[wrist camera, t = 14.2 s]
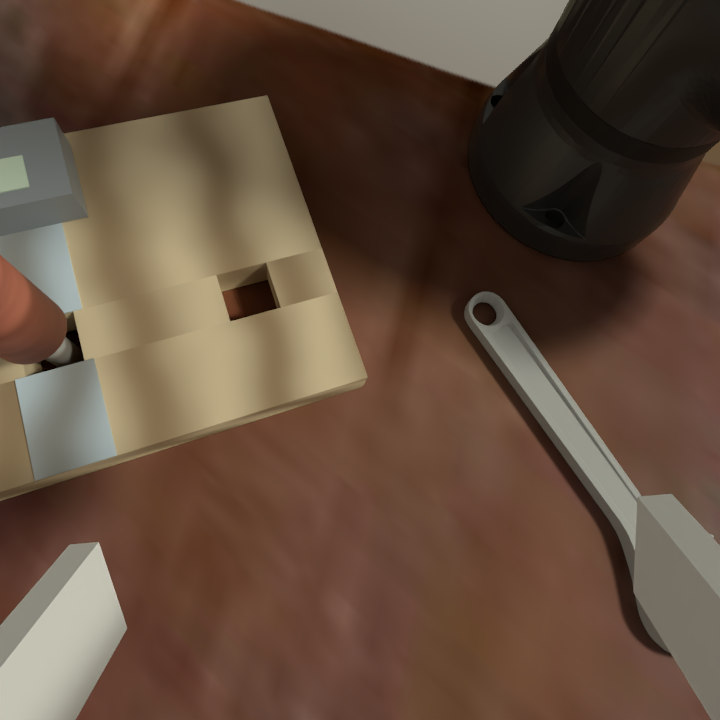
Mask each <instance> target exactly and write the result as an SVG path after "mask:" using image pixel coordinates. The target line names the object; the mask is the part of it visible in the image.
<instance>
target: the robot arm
mask: <svg viewBox="0 0 720 720" xmlns="http://www.w3.org/2000/svg"><path fill="white" fill-rule="evenodd" d="M719 141H720V0H569V2H568V4H567V5H566V7H565V9H564V11H563V13H562V15H561V17H560V19H559V21H558V22H557V24H556V26H555V28H554V30H553V32H552V33H551V35H550V37H549V38H548V39H547V40H546V41H545V42H544V43H543V44H542V45H541V46H540V47H538V49H536V50H535V51H534V52H533V53H532V54H531V55H530V56H529V57H528V58H527V59H526V60H525V61H524V62H522V64H520V65H519V66H518V67H517V68H516V69H515V70H514V71H513V72H512V73H511V74H509V75H508V76H507V77H506V78H505V79H504V80H503V81H502V82H501V83H500V84H499V85H498V86H497V87H496V88H495V89H494V91H493V92H492V93H491V95H490V96H489V97H488V99H487V101H486V102H485V104H484V106H483V108H482V110H481V112H480V114H479V116H478V119H477V121H476V123H475V125H474V127H473V130H472V133H471V136H470V141H469V148H468V160H469V168H470V173H471V177H472V181H473V184H474V186H475V189H476V191H477V193H478V195H479V197H480V199H481V201H482V202H483V204H484V206H485V207H486V208H487V210H488V211H489V213H490V214H491V215H492V216H493V218H494V219H495V220H496V221H497V222H498V223H499V224H500V225H501V226H502V227H503V228H504V229H505V230H506V231H508V232H509V233H510V234H511V235H513V236H514V237H515V238H517V239H518V240H520V241H521V242H523V243H524V244H526V245H528V246H530V247H532V248H534V249H536V250H538V251H540V252H542V253H545V254H548V255H551V256H554V257H558V258H562V259H567V260H574V261H595V260H602V259H607V258H611V257H614V256H617V255H620V254H622V253H624V252H626V251H628V250H630V249H631V248H633V247H634V246H636V245H637V244H638V243H640V242H641V241H642V240H643V239H645V238H646V237H647V236H649V235H650V234H651V233H652V232H654V231H655V230H656V229H657V228H658V227H659V226H660V225H661V224H662V223H663V222H664V221H665V220H666V219H667V217H668V216H669V215H670V213H671V212H672V210H673V209H674V207H675V205H676V204H677V202H678V200H679V198H680V196H681V195H682V193H683V192H684V190H685V188H686V187H687V185H688V183H689V182H690V180H691V178H692V176H693V175H694V173H695V171H696V170H697V168H698V166H699V164H700V163H701V161H702V159H703V158H704V156H705V154H706V153H707V152H708V151H709V150H710V149H711V148H712V147H713V146H714V145H715V144H716V143H718V142H719ZM633 593H634V594H635V596H636V598H637V599H638V601H639V603H640V604H641V606H642V607H643V609H644V611H645V612H646V614H647V616H648V617H649V619H650V620H651V622H652V624H653V625H654V627H655V629H656V630H657V632H658V633H659V635H660V637H661V638H662V640H663V642H664V643H665V645H666V646H667V648H668V650H669V651H670V653H671V655H672V656H673V658H674V659H675V661H676V663H677V664H678V666H679V668H680V669H681V671H682V673H683V674H684V676H685V677H686V679H687V681H688V682H689V684H690V686H691V687H692V689H693V690H694V692H695V694H696V695H697V697H698V699H699V700H700V702H701V703H702V705H703V707H704V708H705V710H706V712H707V713H708V715H709V716H710V718H711V720H720V545H719V544H718V543H717V542H716V541H715V540H714V539H713V538H712V537H711V536H710V535H709V534H708V532H707V531H706V530H705V529H704V528H703V527H702V526H701V525H700V524H699V523H698V522H697V521H696V520H695V519H694V517H693V516H692V515H691V514H690V513H689V512H688V511H687V510H686V509H685V508H684V507H683V506H682V505H681V503H680V502H679V501H678V500H677V499H676V498H675V497H674V496H673V495H672V494H664V495H652V496H640V497H637V518H636V540H635V562H634V584H633ZM126 630H127V626H126V623H125V620H124V617H123V614H122V611H121V608H120V605H119V602H118V599H117V596H116V593H115V590H114V587H113V584H112V581H111V578H110V575H109V572H108V569H107V566H106V563H105V560H104V557H103V554H102V551H101V548H100V545H99V542H95V543H83V544H71V545H69V546H68V547H67V548H66V549H65V551H64V552H63V553H62V554H61V555H60V556H59V558H58V559H57V560H56V561H55V562H54V563H53V565H52V566H51V567H50V568H49V569H48V570H47V572H46V573H45V574H44V575H43V576H42V577H41V579H40V580H39V581H38V582H37V583H36V584H35V586H34V587H33V588H32V589H31V590H30V591H29V593H28V594H27V595H26V596H25V597H24V598H23V600H22V601H21V602H20V603H19V604H18V605H17V607H16V608H15V609H14V610H13V611H12V612H11V614H10V615H9V616H8V617H7V618H6V619H5V621H4V622H3V623H2V624H1V625H0V720H76V718H77V716H78V714H79V713H80V711H81V709H82V707H83V706H84V704H85V702H86V700H87V699H88V697H89V695H90V693H91V691H92V690H93V688H94V686H95V684H96V683H97V681H98V679H99V677H100V676H101V674H102V672H103V670H104V669H105V667H106V665H107V663H108V661H109V660H110V658H111V656H112V654H113V653H114V651H115V649H116V647H117V646H118V644H119V642H120V640H121V639H122V637H123V635H124V633H125V632H126Z"/></svg>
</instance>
